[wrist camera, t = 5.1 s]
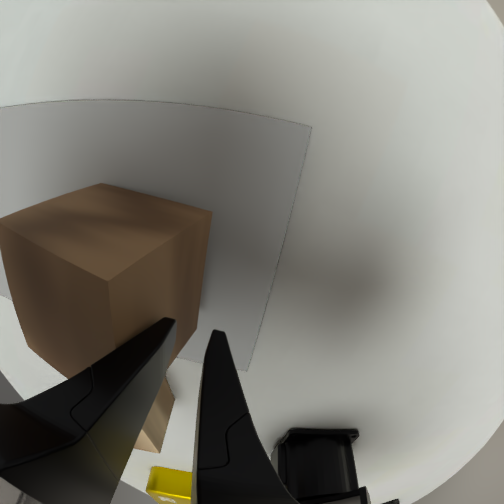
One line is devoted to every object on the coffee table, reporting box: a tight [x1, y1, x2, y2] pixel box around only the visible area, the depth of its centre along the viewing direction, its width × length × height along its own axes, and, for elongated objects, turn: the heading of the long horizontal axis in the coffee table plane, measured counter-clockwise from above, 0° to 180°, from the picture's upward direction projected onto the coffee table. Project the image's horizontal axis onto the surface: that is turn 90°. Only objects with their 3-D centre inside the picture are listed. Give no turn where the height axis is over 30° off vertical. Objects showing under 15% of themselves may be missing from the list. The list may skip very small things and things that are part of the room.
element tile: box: [146, 466, 192, 504], centre depth 28 cm, size 15×15×5 cm
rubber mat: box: [0, 100, 312, 371], centre depth 13 cm, size 23×14×1 cm, turn 79°
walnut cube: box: [0, 183, 213, 379], centre depth 10 cm, size 6×6×6 cm
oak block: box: [134, 377, 175, 453], centre depth 16 cm, size 4×4×5 cm
